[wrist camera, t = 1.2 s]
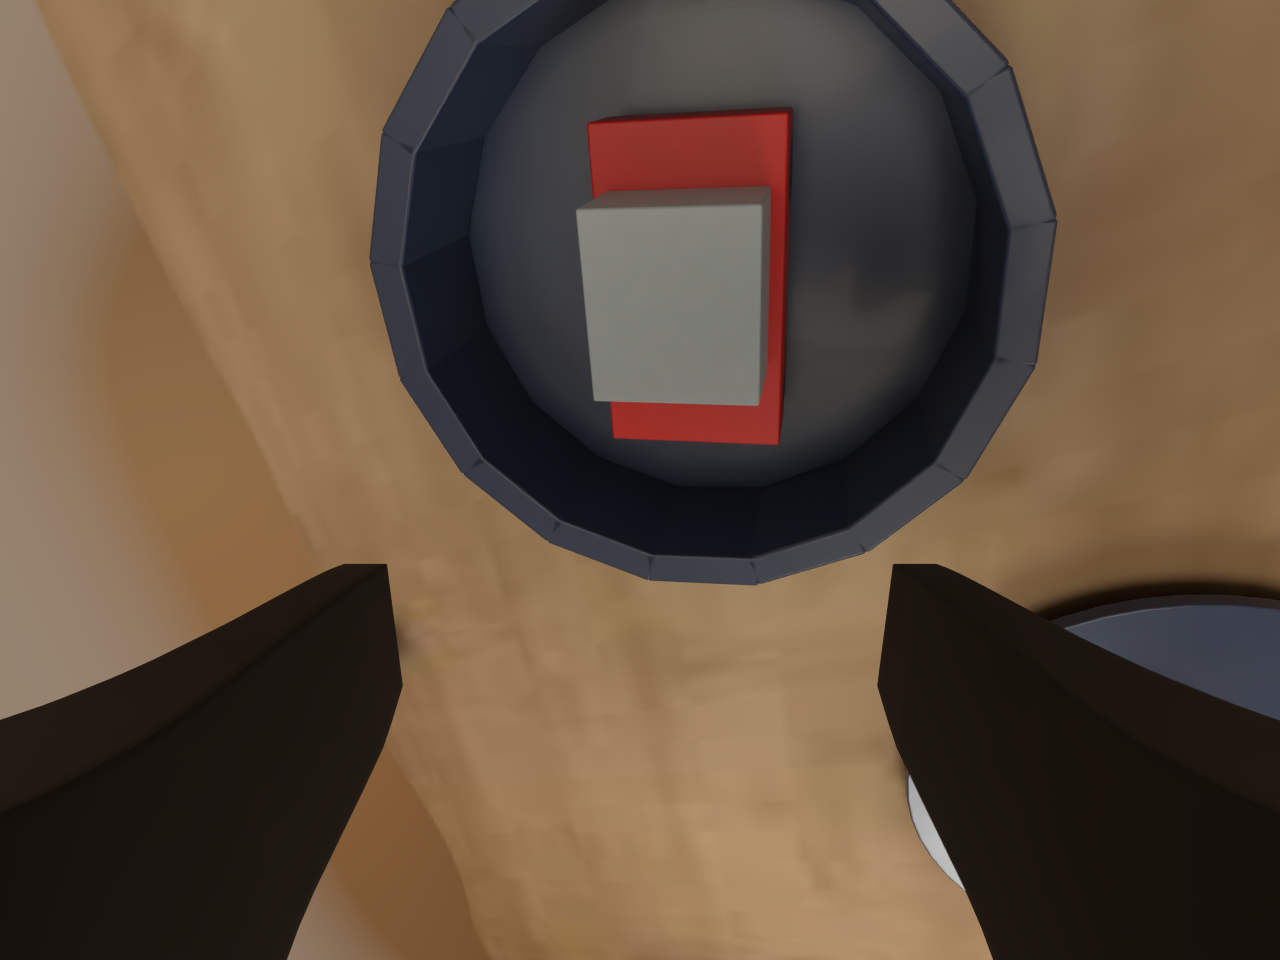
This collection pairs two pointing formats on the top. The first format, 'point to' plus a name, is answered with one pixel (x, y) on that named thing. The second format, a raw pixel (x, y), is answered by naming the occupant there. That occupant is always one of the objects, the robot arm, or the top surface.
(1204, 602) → the lid
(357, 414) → the top surface
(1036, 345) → the pot
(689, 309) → the toy car
